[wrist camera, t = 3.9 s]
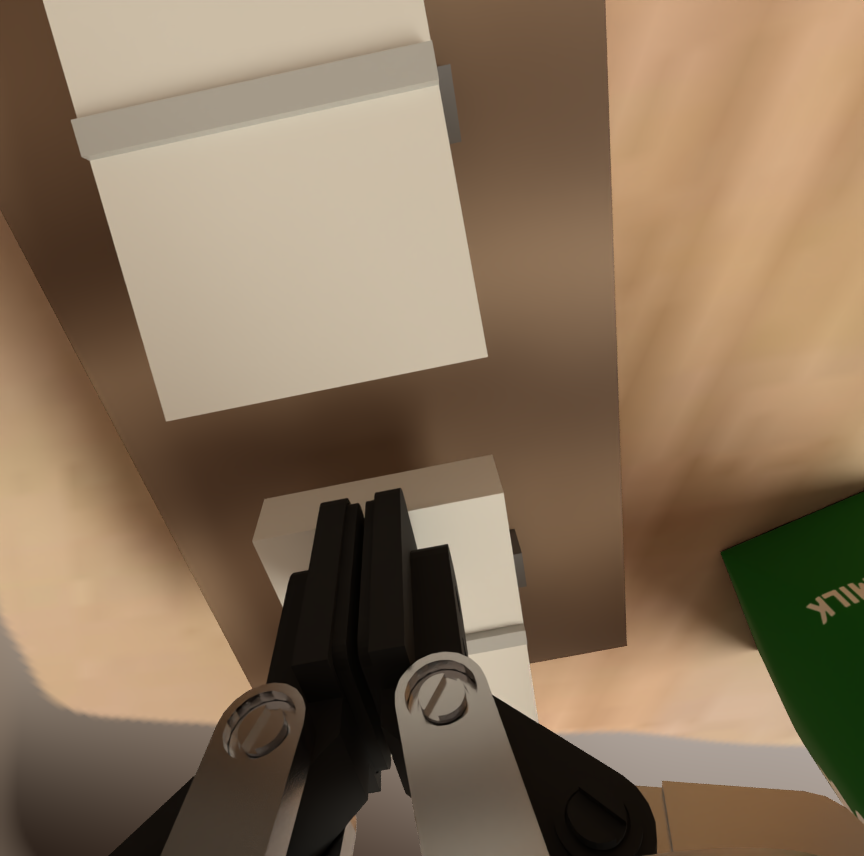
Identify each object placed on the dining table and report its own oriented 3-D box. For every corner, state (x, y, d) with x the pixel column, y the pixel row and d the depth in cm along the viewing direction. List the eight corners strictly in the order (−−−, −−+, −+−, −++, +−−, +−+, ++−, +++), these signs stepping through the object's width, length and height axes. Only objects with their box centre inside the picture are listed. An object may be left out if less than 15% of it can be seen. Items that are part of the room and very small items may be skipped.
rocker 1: (54, -116, 9) (-26, -208, 7) (380, -192, 9) (369, -304, 7) (200, 408, 10) (160, 424, 9) (480, 351, 10) (489, 357, 9)
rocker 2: (264, 498, 13) (250, 548, 12) (492, 454, 13) (505, 498, 11) (357, 716, 17) (355, 770, 16) (529, 685, 17) (541, 737, 16)
